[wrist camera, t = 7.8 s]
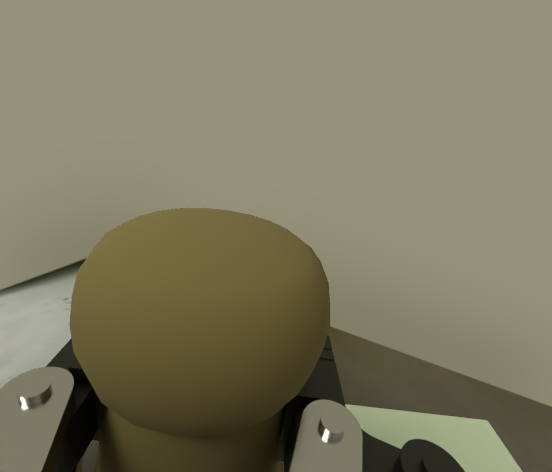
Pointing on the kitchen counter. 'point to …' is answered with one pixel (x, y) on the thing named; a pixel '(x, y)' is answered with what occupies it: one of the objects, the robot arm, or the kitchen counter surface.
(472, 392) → the kitchen counter surface
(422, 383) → the kitchen counter surface
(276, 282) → the cork
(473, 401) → the kitchen counter surface
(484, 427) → the sage board
